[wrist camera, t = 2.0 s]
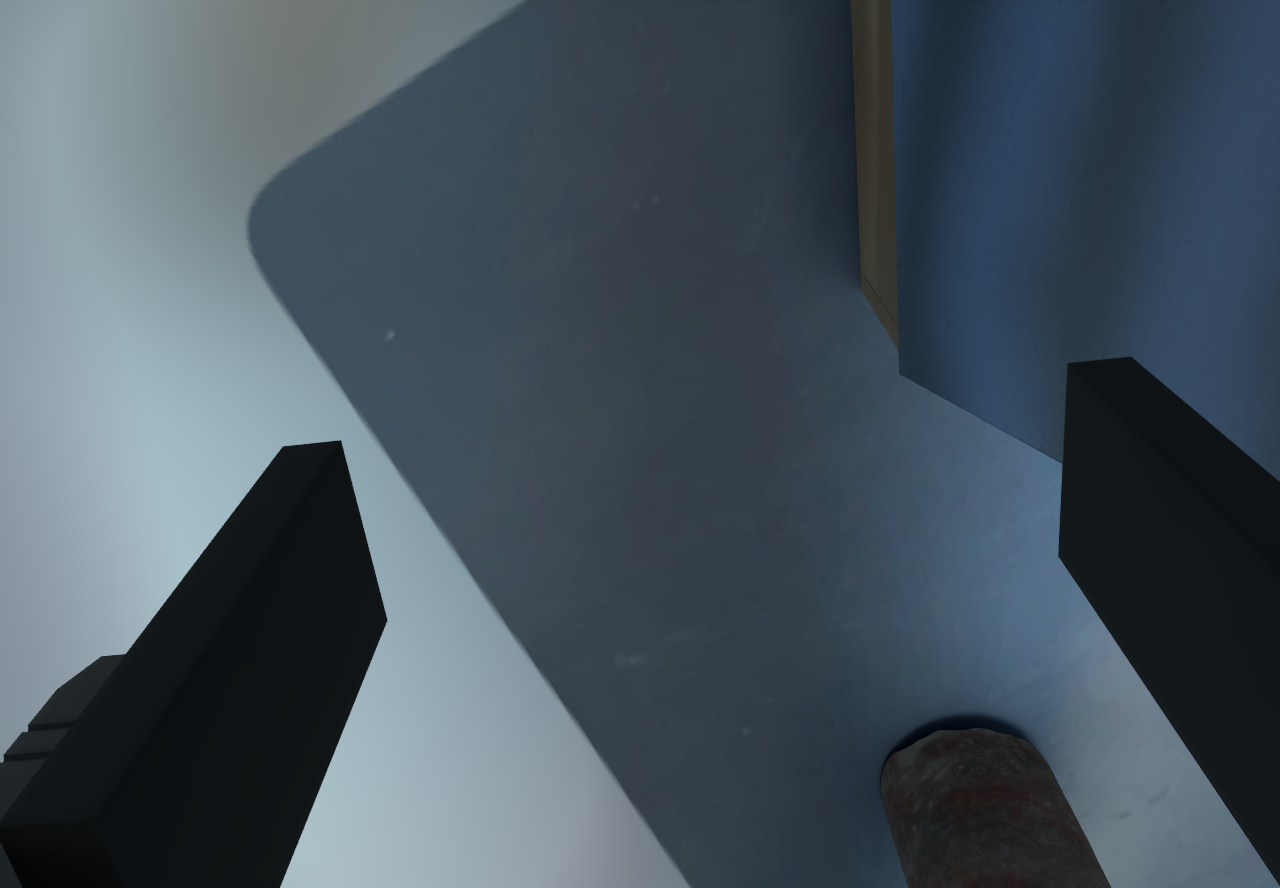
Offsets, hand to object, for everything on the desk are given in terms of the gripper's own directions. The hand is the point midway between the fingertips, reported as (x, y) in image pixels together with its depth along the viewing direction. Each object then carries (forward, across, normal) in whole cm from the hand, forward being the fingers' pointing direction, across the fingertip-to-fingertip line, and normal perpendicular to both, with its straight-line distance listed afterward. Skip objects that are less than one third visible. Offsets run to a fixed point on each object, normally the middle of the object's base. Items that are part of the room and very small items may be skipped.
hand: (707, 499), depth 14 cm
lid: (+10, -9, 0) cm, 13 cm away
